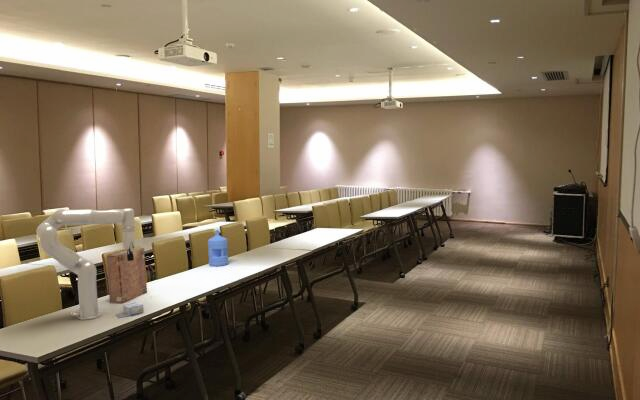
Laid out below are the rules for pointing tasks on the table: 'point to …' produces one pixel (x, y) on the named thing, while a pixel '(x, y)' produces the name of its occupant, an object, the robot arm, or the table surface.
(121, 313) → the slate mat
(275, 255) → the table surface
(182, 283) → the table surface
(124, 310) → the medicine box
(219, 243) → the water jug
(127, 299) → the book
